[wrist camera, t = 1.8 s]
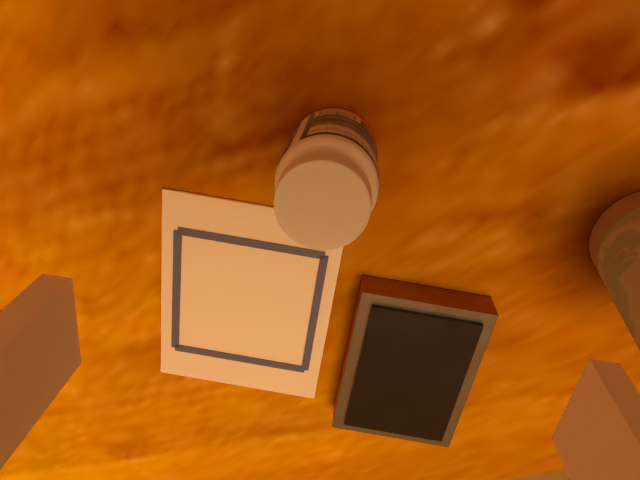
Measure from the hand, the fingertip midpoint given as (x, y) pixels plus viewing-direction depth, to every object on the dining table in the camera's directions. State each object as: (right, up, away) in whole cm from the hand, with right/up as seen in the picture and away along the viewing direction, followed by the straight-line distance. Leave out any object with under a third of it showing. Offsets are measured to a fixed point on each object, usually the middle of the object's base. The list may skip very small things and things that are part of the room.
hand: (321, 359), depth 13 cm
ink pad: (+6, -5, +21) cm, 22 cm away
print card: (-5, -1, +20) cm, 20 cm away
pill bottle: (+1, +8, +15) cm, 17 cm away
